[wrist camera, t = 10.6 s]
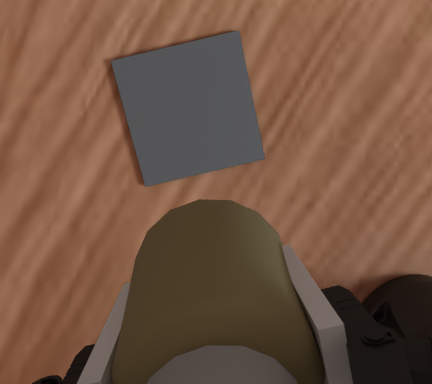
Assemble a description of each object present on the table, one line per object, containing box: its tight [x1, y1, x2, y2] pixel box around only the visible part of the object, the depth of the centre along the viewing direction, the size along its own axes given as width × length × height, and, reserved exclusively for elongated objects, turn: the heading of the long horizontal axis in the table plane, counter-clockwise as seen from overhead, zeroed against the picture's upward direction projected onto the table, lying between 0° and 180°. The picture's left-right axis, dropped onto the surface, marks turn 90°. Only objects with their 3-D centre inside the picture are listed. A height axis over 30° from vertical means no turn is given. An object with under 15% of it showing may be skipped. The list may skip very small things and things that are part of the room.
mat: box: [111, 30, 265, 187], centre depth 39 cm, size 14×14×1 cm
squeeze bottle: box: [112, 200, 325, 384], centre depth 13 cm, size 8×8×18 cm
